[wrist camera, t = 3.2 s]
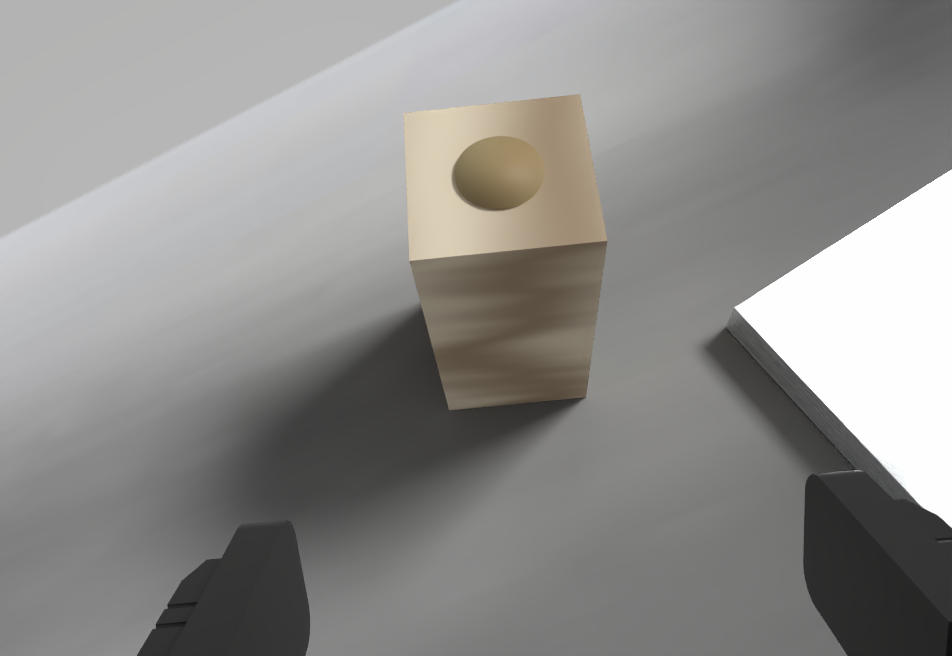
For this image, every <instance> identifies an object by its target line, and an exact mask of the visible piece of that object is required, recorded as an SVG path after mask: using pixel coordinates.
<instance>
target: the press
mask: <svg viewBox="0 0 952 656" xmlns="http://www.w3.org/2000/svg"><path fill="white" fill-rule="evenodd" d="M726 328H727V330H728V331H729V332H730V333H731V334H732V335H733V336H734V337H735V338H736V339H737V340H738V341H739V343H740V344H741V345H742V346H743V347H744V348H745V349H746V350H747V351H748V352H749V353H750V355H751V356H752V357H753V358H754V359H755V360H756V361H757V362H758V363H759V364H760V365H761V366H762V368H763V369H764V370H765V371H766V372H767V373H768V374H769V375H770V376H771V377H772V378H773V380H774V381H775V382H776V383H777V384H778V385H779V386H780V387H781V388H782V389H783V390H784V391H785V393H786V394H787V395H788V396H789V397H790V398H791V399H792V400H793V401H794V402H795V403H796V405H797V406H798V407H799V408H800V409H801V410H802V411H803V412H804V413H805V414H806V415H807V416H808V418H809V419H810V420H811V421H812V422H813V423H814V424H815V425H816V426H817V427H818V428H819V430H820V431H821V432H822V433H823V434H824V435H825V436H826V437H827V438H828V439H829V440H830V441H831V443H832V444H833V445H834V446H835V447H836V448H837V449H838V450H839V451H840V452H841V453H842V455H843V456H844V457H845V458H846V459H847V460H848V461H849V462H850V463H851V464H852V465H853V466H854V468H855V469H856V470H862V471H865V472H866V473H867V474H868V475H869V476H870V477H871V478H872V479H873V480H874V481H875V482H876V483H877V484H878V485H879V486H880V487H882V488H883V489H884V490H885V491H886V492H887V493H888V494H889V495H890V496H891V497H892V498H893V499H894V500H897V499H906V500H908V501H910V502H912V503H914V504H916V505H918V506H920V507H922V508H924V509H926V510H928V511H930V512H932V513H934V514H936V515H938V516H939V517H940V518H941V519H943V520H944V521H945V522H946V523H947V524H948V525H949V526H950V527H951V528H952V170H951V171H949V172H948V173H946V174H945V175H943V176H941V177H940V178H938V179H937V180H935V181H934V182H932V183H930V184H929V185H927V186H926V187H924V188H922V189H921V190H919V191H918V192H916V193H915V194H913V195H911V196H910V197H908V198H907V199H905V200H904V201H902V202H900V203H899V204H897V205H896V206H894V207H892V208H891V209H889V210H888V211H886V212H885V213H883V214H881V215H880V216H878V217H877V218H875V219H874V220H872V221H870V222H869V223H867V224H866V225H864V226H862V227H861V228H859V229H858V230H856V231H855V232H853V233H851V234H850V235H848V236H847V237H845V238H844V239H842V240H840V241H839V242H837V243H836V244H834V245H832V246H831V247H829V248H828V249H826V250H825V251H823V252H821V253H820V254H818V255H817V256H815V257H814V258H812V259H810V260H809V261H807V262H806V263H804V264H802V265H801V266H799V267H798V268H796V269H795V270H793V271H791V272H790V273H788V274H787V275H785V276H784V277H782V278H780V279H779V280H777V281H776V282H774V283H772V284H771V285H769V286H768V287H766V288H765V289H763V290H761V291H760V292H758V293H757V294H755V295H754V296H752V297H750V298H749V299H747V300H746V301H744V302H742V303H741V304H739V305H738V306H736V307H735V308H734V310H733V312H732V314H731V316H730V319H729V321H728V323H727V325H726Z"/></svg>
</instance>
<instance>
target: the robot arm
mask: <svg viewBox="0 0 952 656" xmlns="http://www.w3.org/2000/svg"><path fill="white" fill-rule="evenodd" d="M803 564H804V574H805V580H806V584H807V588H808V591H809V594H810V597H811V599H812V601H813V603H814V605H815V607H816V608H817V610H818V611H819V613H820V614H821V616H822V617H823V619H824V620H825V622H826V623H827V625H828V627H829V628H830V630H831V631H832V633H833V634H834V636H835V637H836V639H837V640H838V642H839V643H840V645H841V646H842V648H843V649H844V651H845V652H846V654H847V655H848V656H952V528H951V527H950V526H949V525H948V524H947V523H946V522H945V521H944V520H943V519H941V518H940V517H939V516H938V515H936V514H934V513H932V512H930V511H928V510H926V509H924V508H922V507H920V506H918V505H916V504H914V503H912V502H910V501H908V500H906V499H897V500H894V499H893V498H892V497H891V496H890V495H889V494H888V493H887V492H886V491H885V490H884V489H883V488H882V487H880V486H879V485H878V484H877V483H876V482H875V481H874V480H873V479H872V478H871V477H870V476H869V475H868V474H867V473H866V472H865V471H862V470H853V471H842V472H831V473H820V474H812V475H810V476H809V477H808V479H807V482H806V486H805V516H804V558H803ZM309 635H310V612H309V604H308V599H307V593H306V588H305V583H304V577H303V572H302V567H301V561H300V556H299V551H298V546H297V540H296V535H295V531H294V528H293V526H292V524H291V522H290V521H288V520H287V521H276V522H265V523H254V524H243V525H240V526H239V528H238V529H237V531H236V533H235V534H234V536H233V538H232V540H231V542H230V544H229V546H228V547H227V549H226V551H225V553H224V555H223V557H222V558H221V559H210V560H206V561H205V562H204V563H203V564H201V565H200V566H199V567H198V568H197V569H195V570H194V571H193V572H192V573H191V574H190V575H188V576H187V577H186V578H185V579H184V580H182V581H181V583H180V585H179V586H178V588H177V590H176V591H175V593H174V595H173V596H172V598H171V600H170V601H169V603H168V609H165V610H164V611H163V613H162V615H161V616H160V618H159V620H158V621H157V623H156V629H153V630H152V631H151V633H150V635H149V636H148V638H147V640H146V641H145V643H144V645H143V646H142V648H141V650H140V651H139V653H138V655H137V656H305V655H306V651H307V648H308V643H309Z"/></svg>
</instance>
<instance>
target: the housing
mask: <svg viewBox="0 0 952 656" xmlns="http://www.w3.org/2000/svg"><path fill="white" fill-rule="evenodd" d="M404 135H405V160H406V185H407V210H408V235H409V260H410V264H411V268H412V272H413V276H414V280H415V283H416V287H417V291H418V295H419V298H420V302H421V306H422V310H423V314H424V317H425V321H426V325H427V329H428V332H429V336H430V340H431V344H432V348H433V351H434V355H435V359H436V363H437V366H438V370H439V374H440V378H441V382H442V385H443V389H444V393H445V397H446V400H447V404H448V408H449V410H458V409H468V408H478V407H489V406H499V405H510V404H520V403H531V402H541V401H551V400H562V399H572V398H583V397H586V393H587V385H588V378H589V371H590V363H591V356H592V349H593V342H594V334H595V327H596V320H597V312H598V305H599V298H600V291H601V283H602V276H603V269H604V262H605V254H606V247H607V236H606V231H605V226H604V220H603V215H602V209H601V204H600V199H599V193H598V188H597V183H596V177H595V172H594V167H593V161H592V156H591V150H590V145H589V140H588V134H587V129H586V124H585V118H584V113H583V108H582V102H581V97H580V94H578V95H569V96H560V97H550V98H541V99H531V100H522V101H512V102H503V103H494V104H484V105H475V106H465V107H456V108H446V109H437V110H428V111H418V112H409V113H404Z"/></svg>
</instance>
